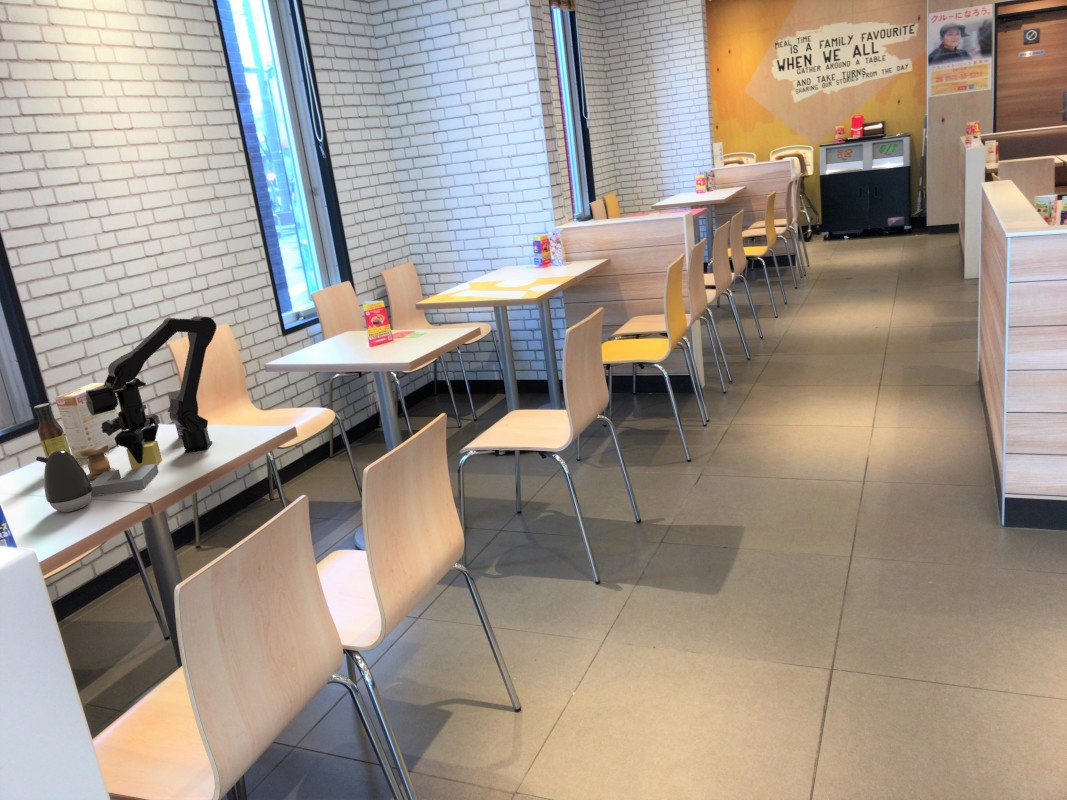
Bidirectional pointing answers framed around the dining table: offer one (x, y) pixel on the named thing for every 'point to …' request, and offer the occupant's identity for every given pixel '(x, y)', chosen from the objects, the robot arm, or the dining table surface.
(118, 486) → the gray u-shaped block
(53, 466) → the pump dispenser
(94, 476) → the ball
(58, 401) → the coffeecake box
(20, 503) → the dining table surface
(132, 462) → the tab
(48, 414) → the sauce bottle
